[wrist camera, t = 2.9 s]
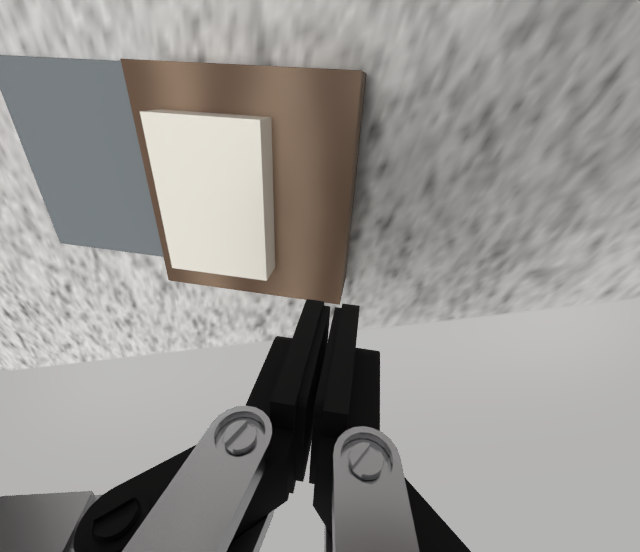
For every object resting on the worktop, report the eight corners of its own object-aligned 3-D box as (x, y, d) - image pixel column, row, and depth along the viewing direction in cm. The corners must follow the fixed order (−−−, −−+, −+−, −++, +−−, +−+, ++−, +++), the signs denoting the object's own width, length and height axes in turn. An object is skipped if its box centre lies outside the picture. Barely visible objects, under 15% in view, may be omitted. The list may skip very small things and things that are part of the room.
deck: (366, 73, 20) (361, 70, 17) (345, 278, 28) (339, 304, 25) (161, 63, 22) (120, 58, 19) (193, 258, 30) (168, 280, 26)
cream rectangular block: (271, 117, 19) (260, 119, 17) (275, 267, 24) (266, 280, 22) (160, 109, 20) (139, 111, 18) (186, 255, 25) (172, 268, 23)
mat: (154, 63, 22) (150, 62, 22) (188, 257, 30) (186, 259, 30) (-8, 54, 24) (-14, 54, 24) (63, 241, 32) (60, 242, 31)
